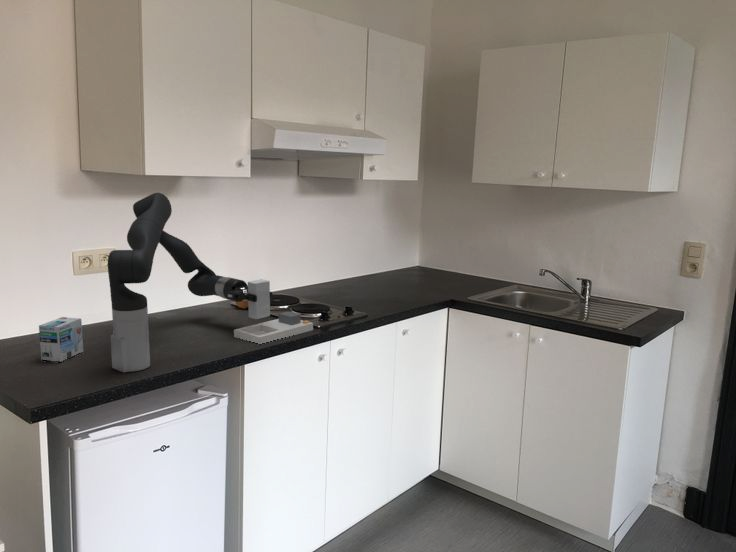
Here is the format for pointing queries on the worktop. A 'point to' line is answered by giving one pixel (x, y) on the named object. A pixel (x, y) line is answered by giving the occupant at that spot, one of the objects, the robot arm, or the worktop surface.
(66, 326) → the light bulb box
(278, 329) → the grey rectangular base
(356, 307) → the worktop surface
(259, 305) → the skincare box
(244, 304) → the apple
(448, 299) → the worktop surface
